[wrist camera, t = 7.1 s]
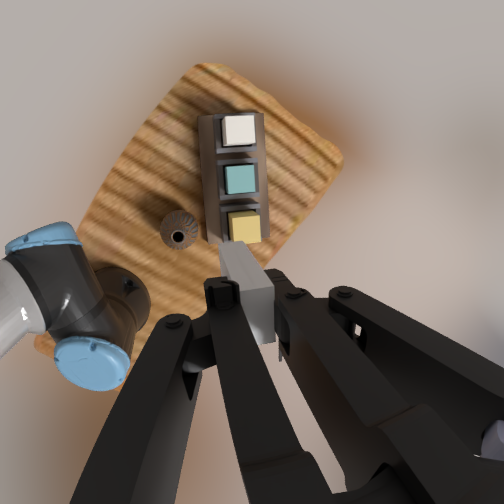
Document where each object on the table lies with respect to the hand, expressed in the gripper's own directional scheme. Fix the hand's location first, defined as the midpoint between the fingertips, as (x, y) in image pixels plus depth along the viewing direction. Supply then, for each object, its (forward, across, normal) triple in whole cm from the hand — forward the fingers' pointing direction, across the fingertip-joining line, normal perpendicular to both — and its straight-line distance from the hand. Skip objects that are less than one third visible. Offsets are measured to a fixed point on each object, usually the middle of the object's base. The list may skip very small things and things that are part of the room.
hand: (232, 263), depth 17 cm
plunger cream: (+32, +6, +11) cm, 34 cm away
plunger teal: (+34, +6, +3) cm, 34 cm away
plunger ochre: (+32, +6, -5) cm, 33 cm away
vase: (+37, -5, -5) cm, 37 cm away
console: (+36, +6, +3) cm, 37 cm away
